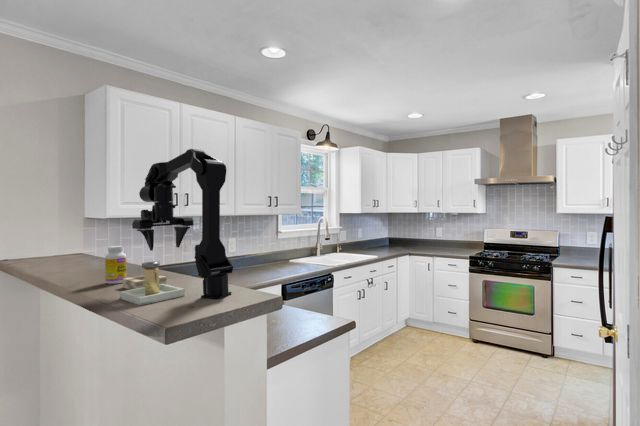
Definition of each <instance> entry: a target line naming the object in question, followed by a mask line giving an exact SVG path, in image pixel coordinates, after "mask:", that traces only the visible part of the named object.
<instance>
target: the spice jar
mask: <svg viewBox="0 0 640 426" xmlns="http://www.w3.org/2000/svg"><path fill="white" fill-rule="evenodd" d="M159 266H161V265H160V261H157V260H156V261H146V262H143V263H141V268H143V275H144V285H145V296H149V295H154V294H159V293H160V285H159V275H160V273H159V272H160V271H159Z"/></svg>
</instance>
